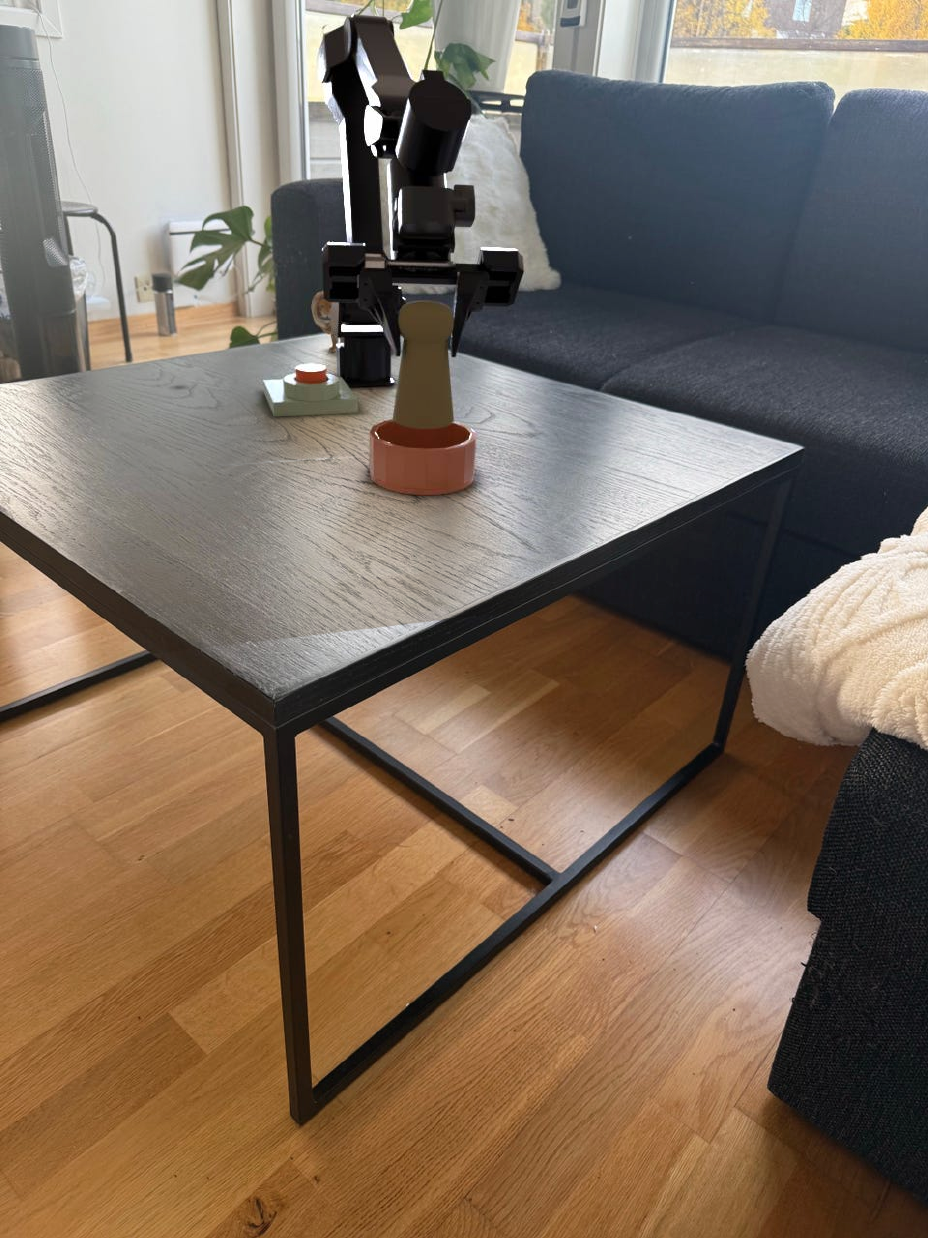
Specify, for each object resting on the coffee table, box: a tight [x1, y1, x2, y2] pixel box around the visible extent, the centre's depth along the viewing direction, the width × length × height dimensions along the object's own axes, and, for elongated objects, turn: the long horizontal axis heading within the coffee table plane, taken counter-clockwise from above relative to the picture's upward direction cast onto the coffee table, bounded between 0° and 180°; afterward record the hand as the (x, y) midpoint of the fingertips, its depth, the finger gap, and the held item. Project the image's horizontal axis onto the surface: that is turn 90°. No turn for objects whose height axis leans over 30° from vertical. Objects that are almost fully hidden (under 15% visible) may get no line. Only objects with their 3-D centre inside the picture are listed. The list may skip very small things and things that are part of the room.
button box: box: [262, 372, 359, 417], centre depth 109 cm, size 10×10×4 cm
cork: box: [392, 299, 455, 429], centre depth 84 cm, size 6×6×11 cm
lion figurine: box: [310, 290, 394, 353], centre depth 132 cm, size 15×5×9 cm, turn 126°
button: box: [295, 363, 327, 384], centre depth 106 cm, size 4×4×2 cm
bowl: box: [368, 418, 477, 496], centre depth 88 cm, size 10×10×4 cm
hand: (426, 354), depth 82 cm, fingers closed on cork, 5 cm apart
